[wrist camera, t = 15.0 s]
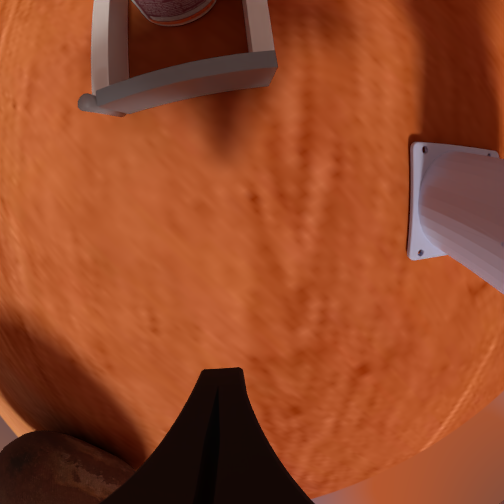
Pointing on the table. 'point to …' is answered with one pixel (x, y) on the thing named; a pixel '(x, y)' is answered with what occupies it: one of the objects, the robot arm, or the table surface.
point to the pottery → (58, 470)
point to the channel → (116, 38)
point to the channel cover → (183, 83)
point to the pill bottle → (173, 10)
